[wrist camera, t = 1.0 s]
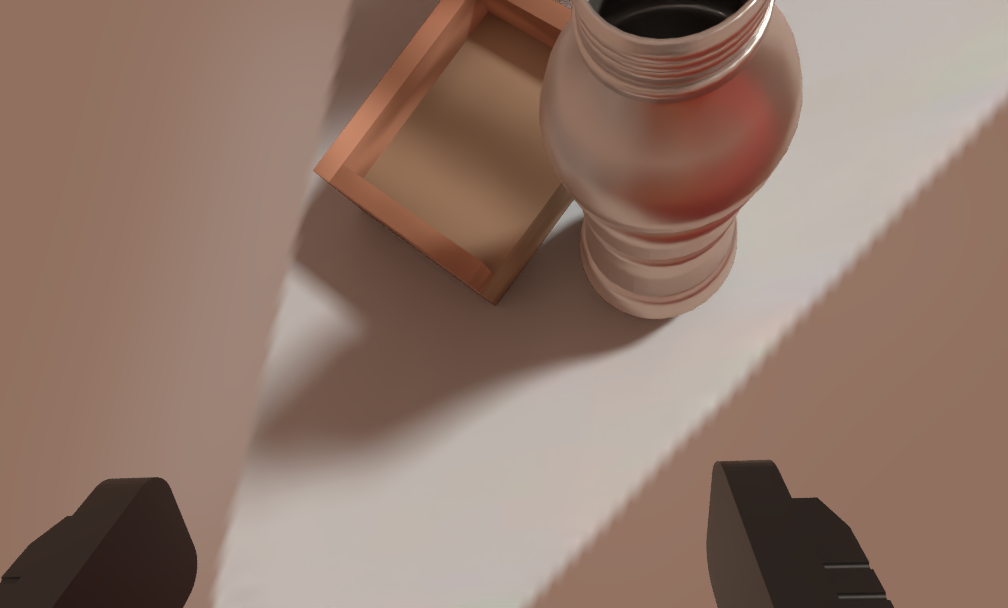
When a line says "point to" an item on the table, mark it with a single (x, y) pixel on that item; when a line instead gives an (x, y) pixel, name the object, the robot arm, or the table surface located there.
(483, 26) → the dock
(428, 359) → the table surface
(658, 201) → the plastic bottle
